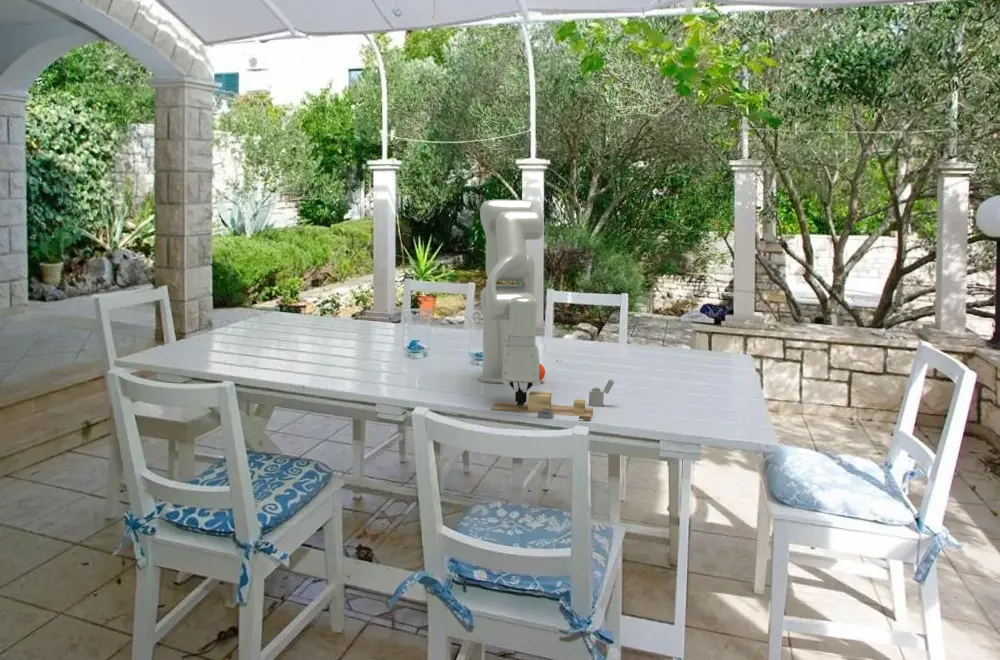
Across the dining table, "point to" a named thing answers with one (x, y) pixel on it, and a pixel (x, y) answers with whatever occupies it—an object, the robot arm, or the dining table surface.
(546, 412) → the fulcrum marker
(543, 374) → the clementine
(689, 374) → the dining table surface
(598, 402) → the lighter
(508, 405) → the beam
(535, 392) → the block
